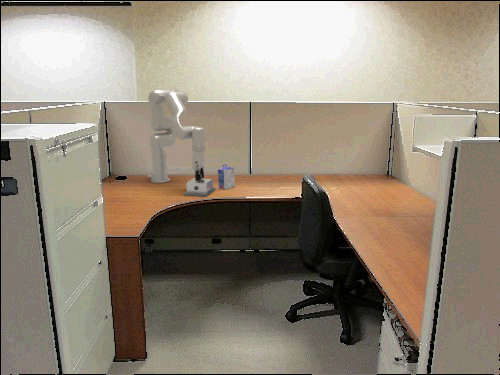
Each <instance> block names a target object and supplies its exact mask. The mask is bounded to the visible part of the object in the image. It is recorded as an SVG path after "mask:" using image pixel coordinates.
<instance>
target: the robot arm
mask: <svg viewBox="0 0 500 375" xmlns="http://www.w3.org/2000/svg"><path fill="white" fill-rule="evenodd" d="M148 93H149V94H148V95H147V96H148V97H147V99H148V100H147V101H148V104H149V107H150V126H151V129H152V131H155V132H156V133H152V134H151V135H149V138H148V141H149V146H150V151H151V152H150V153H151V164H152V165H151V166H152V174H151V173H148V174H147V178H151V179H150V182H151V183H155V184H156V183H159V184H162V183H167V182H170V181H171V178H170V177H168V160H167V159H168V158H167V156H168V155H167V152H166V151H165V149H164V148H168V147H173V146H174V145H176V140H177V139H176V138H178V139H179V140H182V141H185V140H191V148H192V150H191V151H192V159H191V160H192V161H191V163H192V164H191V165H192V166H191V168H192V169H193V171H194V178H195V180H197V181H200V180H201V174H202V178H203V179H205V169H204V168H205V166H206V157H205V155H206V153H205V152H206V129H205V128H204V127H201V126H196V125H187V126H186V125H185V126H183V125H181V123H180V119H182V118H183V117H185V115H186V114H187V112H188V110H187V109H186V107H185V105H187V104H188V101H189V96H188V94H187V93H186V92H185V91H184V90H180V89H174V88H167V89H166V88H163V89H161V88H160V89H159V88H158V89H157V88H156V89H153V90H151V91H150V92H148ZM163 104H166V105H167V107H168V109H169V110H170V112H171V114H172V115H167V114H166V115H165V108H164V106H163ZM163 131H165V132H163Z"/></svg>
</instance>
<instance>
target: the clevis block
mask: <svg viewBox="0 0 500 375" xmlns="http://www.w3.org/2000/svg"><path fill="white" fill-rule="evenodd" d="M213 180H214V179H213V178H202V182H198V181H197V180H195V177H193V178H191V179H190V180H188V181H187V182H186V191H185V192H184V193H183V196H184V197H199V198H200V197H202V198H207V197H209V196H210V195H211V194H212V193H214V192H215V191H216V190H217V187H215V186H214V184H213V182H214V181H213Z"/></svg>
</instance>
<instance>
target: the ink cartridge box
mask: <svg viewBox="0 0 500 375" xmlns="http://www.w3.org/2000/svg"><path fill="white" fill-rule="evenodd" d="M217 175H218V177H217V178H218V189H221V190H227V189H232V188H235V187H236V186H235V185H236V183H235V182H236V180H235V179H236V178H235V167H231V166H228V165H227V163H225V164H222V168H219V169H217Z"/></svg>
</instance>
